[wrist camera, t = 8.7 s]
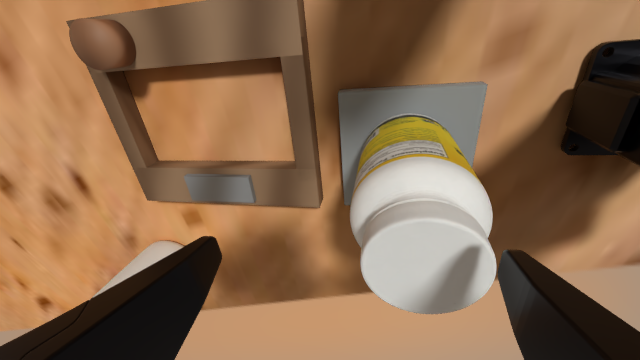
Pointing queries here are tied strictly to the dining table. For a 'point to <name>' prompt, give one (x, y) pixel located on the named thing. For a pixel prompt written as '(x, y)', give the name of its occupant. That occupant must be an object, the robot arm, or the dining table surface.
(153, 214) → the dining table surface
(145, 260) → the milk bottle
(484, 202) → the pill bottle
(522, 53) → the dining table surface
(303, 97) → the wooden frame
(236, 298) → the dining table surface
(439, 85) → the grey pad
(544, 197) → the dining table surface
